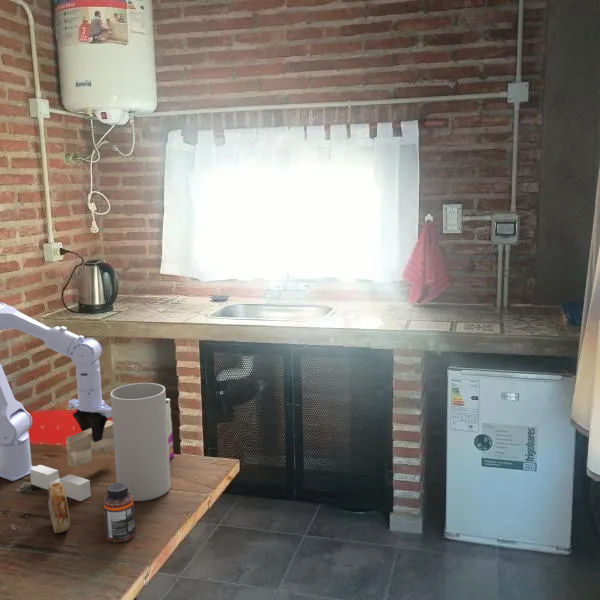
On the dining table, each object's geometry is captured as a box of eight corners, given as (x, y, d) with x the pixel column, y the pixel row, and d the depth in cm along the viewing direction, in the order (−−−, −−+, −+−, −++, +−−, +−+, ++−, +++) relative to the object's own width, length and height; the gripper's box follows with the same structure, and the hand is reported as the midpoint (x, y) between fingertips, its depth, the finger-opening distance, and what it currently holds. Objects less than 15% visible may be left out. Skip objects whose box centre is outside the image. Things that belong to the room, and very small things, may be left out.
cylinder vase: (116, 483, 165) (109, 386, 160) (167, 475, 169) (162, 380, 164) (119, 506, 153) (111, 402, 149) (173, 497, 157) (168, 395, 152)
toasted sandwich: (72, 537, 140) (69, 493, 138) (54, 541, 139) (50, 496, 137) (67, 515, 149) (63, 473, 148) (49, 519, 148) (45, 477, 146)
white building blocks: (31, 484, 165) (29, 469, 165) (41, 479, 168) (40, 464, 167) (80, 501, 156) (79, 485, 155) (90, 496, 158) (89, 480, 158)
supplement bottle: (111, 529, 143) (107, 479, 141) (138, 529, 143) (135, 479, 141) (102, 544, 137) (98, 492, 135) (131, 544, 137) (127, 492, 135)
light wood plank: (68, 464, 165) (65, 438, 164) (111, 445, 177) (109, 420, 176) (76, 467, 164) (74, 440, 162) (119, 447, 175) (117, 422, 174)
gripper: (121, 387, 167) (125, 439, 169) (82, 379, 174) (85, 428, 177) (100, 395, 161) (103, 448, 163) (59, 386, 168) (64, 437, 171)
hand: (93, 439), depth 169 cm, fingers closed on light wood plank, 3 cm apart
